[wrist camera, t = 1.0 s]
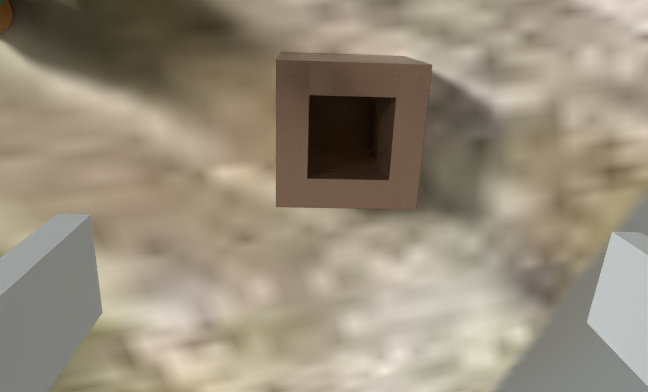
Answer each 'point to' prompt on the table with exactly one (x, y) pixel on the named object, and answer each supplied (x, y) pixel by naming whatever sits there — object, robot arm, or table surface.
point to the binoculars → (5, 15)
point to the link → (351, 164)
